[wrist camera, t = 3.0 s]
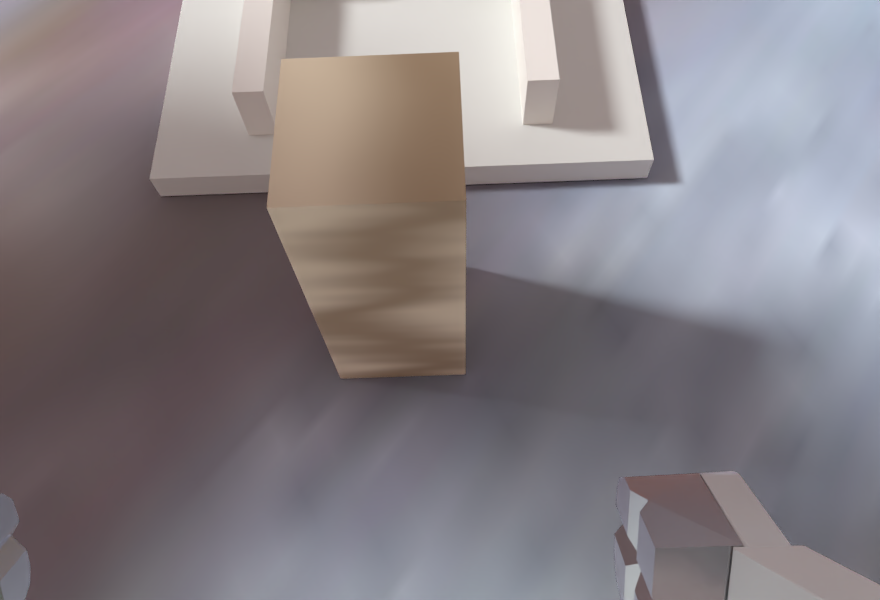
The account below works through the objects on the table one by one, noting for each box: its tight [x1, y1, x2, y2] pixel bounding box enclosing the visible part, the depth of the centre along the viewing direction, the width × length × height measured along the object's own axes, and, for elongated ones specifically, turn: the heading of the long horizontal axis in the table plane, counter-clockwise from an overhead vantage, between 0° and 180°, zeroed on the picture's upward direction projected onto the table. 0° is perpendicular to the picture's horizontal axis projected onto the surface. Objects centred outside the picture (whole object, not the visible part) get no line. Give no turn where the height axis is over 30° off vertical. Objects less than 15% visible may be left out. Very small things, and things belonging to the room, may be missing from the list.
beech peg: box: [267, 52, 466, 379], centre depth 22 cm, size 4×4×11 cm
